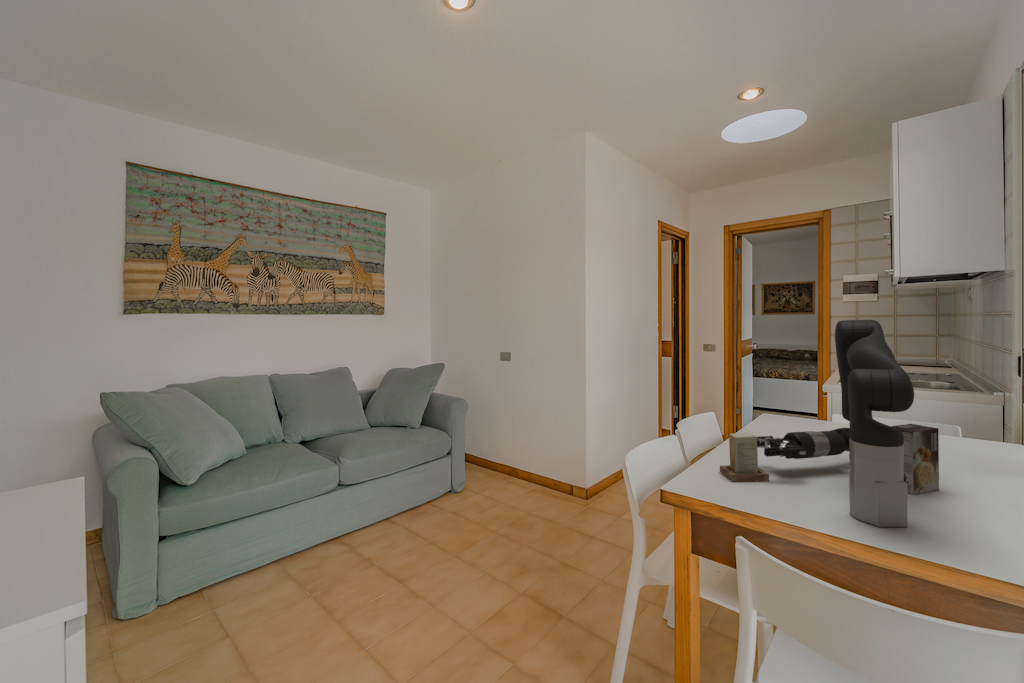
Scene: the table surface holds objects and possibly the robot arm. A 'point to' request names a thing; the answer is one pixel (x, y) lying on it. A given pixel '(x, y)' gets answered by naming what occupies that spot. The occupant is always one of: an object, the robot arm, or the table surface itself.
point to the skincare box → (743, 453)
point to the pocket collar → (744, 475)
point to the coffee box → (920, 457)
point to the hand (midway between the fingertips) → (754, 448)
